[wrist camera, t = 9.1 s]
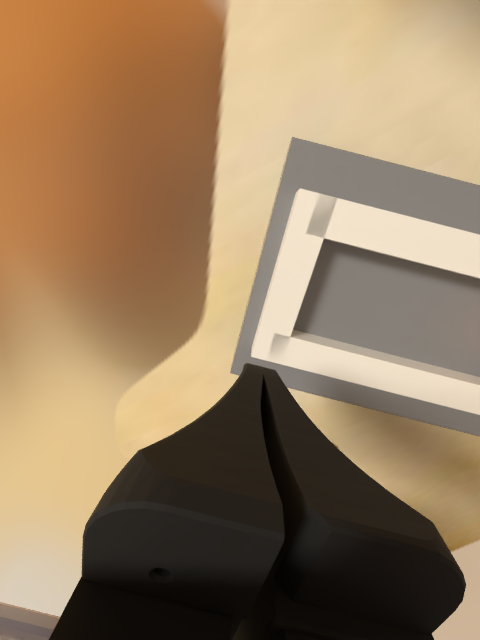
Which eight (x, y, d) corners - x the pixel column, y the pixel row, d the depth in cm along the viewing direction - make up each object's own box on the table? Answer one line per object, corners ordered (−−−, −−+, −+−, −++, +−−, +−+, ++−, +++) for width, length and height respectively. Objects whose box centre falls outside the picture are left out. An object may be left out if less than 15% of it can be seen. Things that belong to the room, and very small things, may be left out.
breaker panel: (512, 427, 21) (567, 470, 17) (233, 357, 21) (227, 384, 17) (656, 246, 16) (779, 250, 12) (287, 151, 16) (296, 125, 12)
